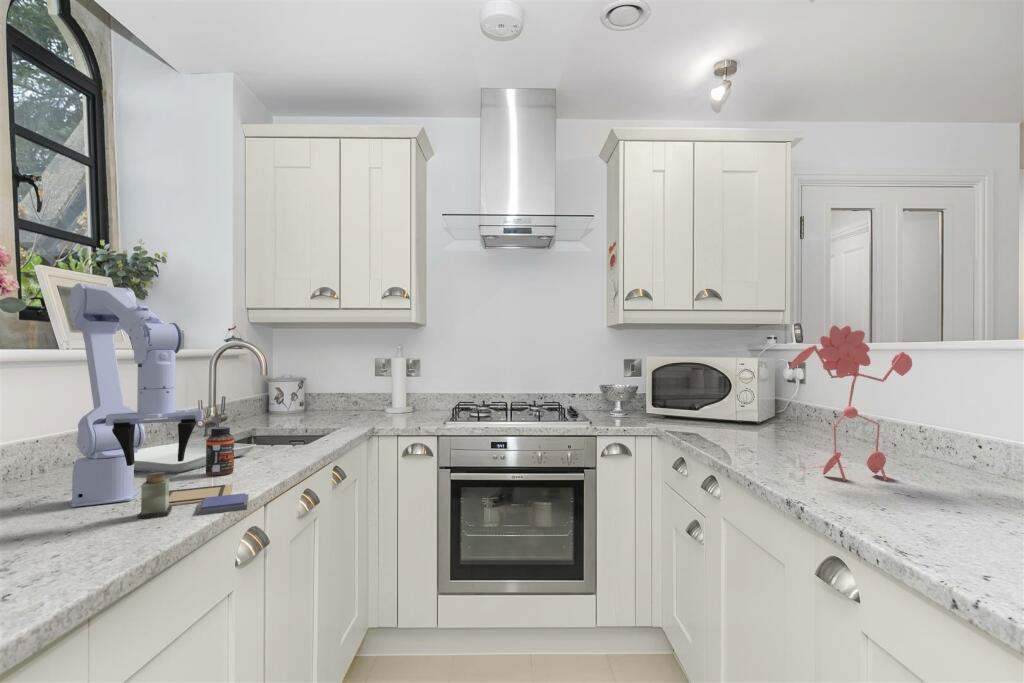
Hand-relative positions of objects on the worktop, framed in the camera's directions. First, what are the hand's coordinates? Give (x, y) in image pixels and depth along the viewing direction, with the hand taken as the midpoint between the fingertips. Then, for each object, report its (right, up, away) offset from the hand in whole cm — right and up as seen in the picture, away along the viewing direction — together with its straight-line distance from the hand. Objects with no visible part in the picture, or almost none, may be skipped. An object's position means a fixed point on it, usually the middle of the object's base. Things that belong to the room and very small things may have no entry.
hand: (156, 462), depth 94 cm
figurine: (+144, -9, +26) cm, 146 cm away
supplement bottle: (-6, -10, +31) cm, 33 cm away
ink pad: (+10, -9, +5) cm, 14 cm away
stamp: (0, -10, 0) cm, 10 cm away
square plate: (-25, -11, +44) cm, 52 cm away
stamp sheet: (0, -10, +12) cm, 15 cm away
